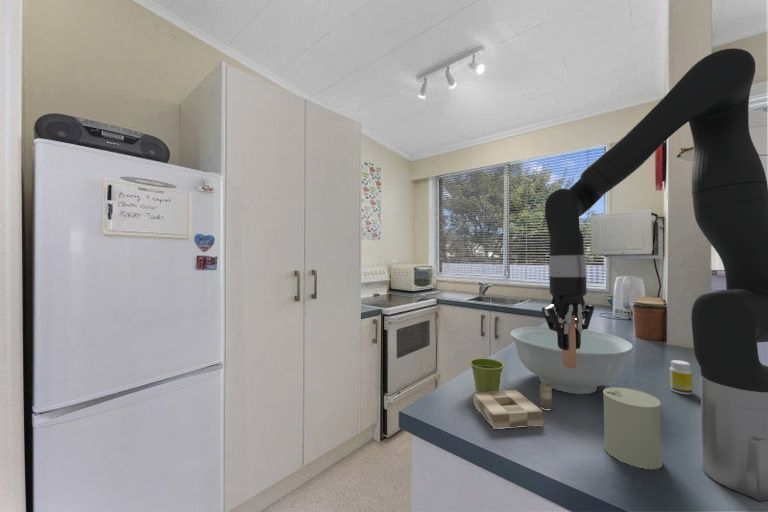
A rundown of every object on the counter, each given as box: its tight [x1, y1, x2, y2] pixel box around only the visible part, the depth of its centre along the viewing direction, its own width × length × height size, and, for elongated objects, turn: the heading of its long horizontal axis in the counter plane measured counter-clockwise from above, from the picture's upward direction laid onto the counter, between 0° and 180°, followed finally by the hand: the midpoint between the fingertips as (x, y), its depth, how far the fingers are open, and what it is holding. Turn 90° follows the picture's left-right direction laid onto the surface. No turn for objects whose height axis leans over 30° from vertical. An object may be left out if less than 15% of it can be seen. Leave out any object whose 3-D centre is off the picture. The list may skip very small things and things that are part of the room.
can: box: [602, 386, 664, 471], centre depth 63 cm, size 9×9×12 cm
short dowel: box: [539, 382, 553, 410], centre depth 82 cm, size 3×3×6 cm
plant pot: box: [469, 357, 505, 392], centre depth 92 cm, size 9×9×9 cm
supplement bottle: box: [669, 359, 693, 395], centre depth 91 cm, size 5×5×8 cm
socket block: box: [472, 389, 544, 428], centre depth 79 cm, size 12×12×4 cm
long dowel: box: [561, 315, 577, 368], centre depth 74 cm, size 3×3×12 cm
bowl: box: [509, 326, 634, 395], centre depth 98 cm, size 32×32×15 cm
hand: (569, 348), depth 74 cm, fingers closed on long dowel, 2 cm apart
